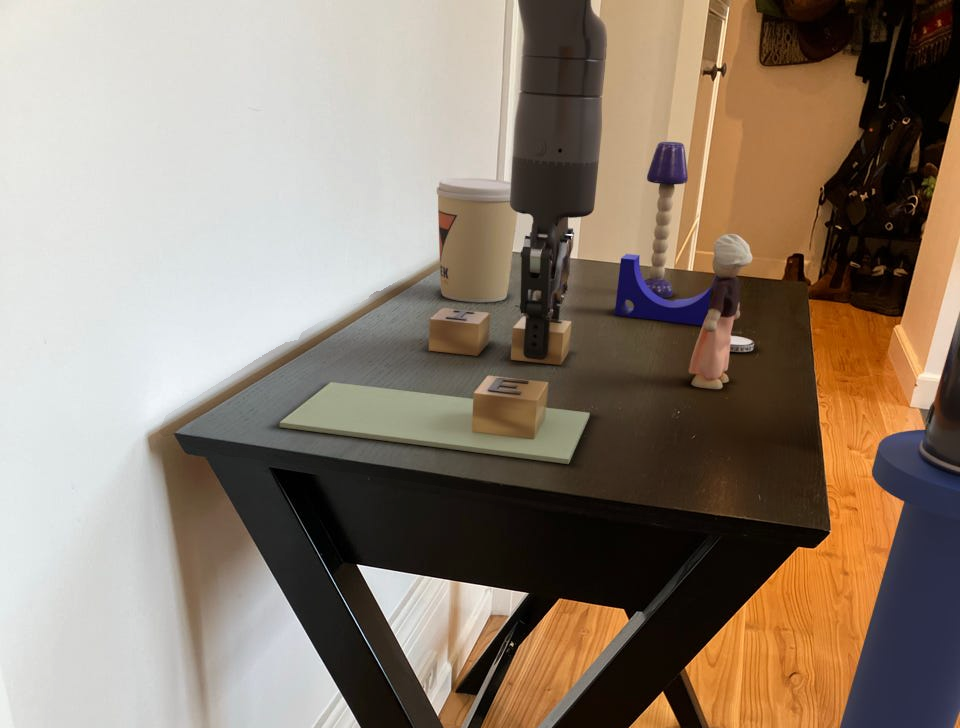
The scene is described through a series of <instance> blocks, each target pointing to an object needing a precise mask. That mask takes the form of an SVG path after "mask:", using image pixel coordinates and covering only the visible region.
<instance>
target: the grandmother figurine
mask: <svg viewBox="0 0 960 728" xmlns="http://www.w3.org/2000/svg"><path fill="white" fill-rule="evenodd" d="M712 251H713V258H712V264H711V265H712V270H713V272H714V274H715V276H716V275H717V276H718V278H717V280H716V282H715V283H714V282H713V283H714V285H713V284H712V285H713V286H712V285H711V286H712V289H711V293H710V301H709V309H708V314H707V316H706V318H705V321H704V323H703V326H702V325H701V329H700V332H699V335H698V337H697V340H696V343H695V345H694V347H693V348H694V349H693V352H692V355H691V359H690V363H689V366H688V374H691V375H695V376H694V377H693V379H692V381H691V383H690V384H691V385H692V386H693V387H696V388H701V389H709V390H721V389H722V388H723V384H725V383H729V381H730V379H729V376H728V375H727V374H726V373H725V372H727V371H728V369H729V362H730V352H731V351H730V343H731V336H732V330H733V325H734V321H736V320H738V319H739V318H740V317H741V311H740V301H741V298H740V294H741V293H740V292H741V284H740V280H739V278H737V277H738V275H739V274H740V273H741V272H742V270H743V268H744V267H747V266H748V265H750V264H751V263H752V261H753V254H752V253H751V246H750V245H749V243H748V242H746V241H745V240H744V238H742V237H741V236H739V235H737V234H735V233H728V234H723V235H721V236H720V237H719V238H718V239H716V240H715V242H714V244H713V247H712Z"/></svg>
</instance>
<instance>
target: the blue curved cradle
mask: <svg viewBox="0 0 960 728" xmlns="http://www.w3.org/2000/svg"><path fill="white" fill-rule="evenodd" d="M640 256H641V255H640V254H631V253H625V254H624V255H623V256H622V257H620V263H619V264H620V265H619V271H618V272H619V273H618V280H617V289H616V297H615V308H614V315H615V316H621V317H622V316H623V317H630V318H638V319H645V320H647V319H648V320H653V321H654V320H655V321H663V322H670V323H678V324H687V325H695V326H701V327H702V326H703V323H704V321H705V318H706V316H707V314H708V309H709V301H710V293H711V289H712V286H713V285H714V283H715V282H716V280H717V278H718V276H717V275H716V274H715V278H714V280H713V283H712V285H711V286H710V287H709V288H707V289H706V290H704V291H703V292H702V293H700V294H698V295H696V296H693V297H690V298H689V297H688V298H684V299H683V298H682V299H678V298H676V299H675V300H674V301H671V300H668V299H666V298H660V297H659V296H657V295H656V294H654V293H653V292H652V291H651V290H650V289H649V287H648V286H647V285H646V283H645V282H644V280H645V279H644V278H643V275H642V271H641V266H640V265H641V264H640ZM626 301H630V302H631V303H632V306H633V308H632V307H629V306H628V305H627V302H626Z"/></svg>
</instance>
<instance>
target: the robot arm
mask: <svg viewBox="0 0 960 728" xmlns="http://www.w3.org/2000/svg"><path fill="white" fill-rule="evenodd" d="M517 7H518V12H519V17H520V22H521V26H522V27H521V28H522V29H521V30H522V45H521V57H520V59H521V60H520V62H521V63H520V77H519V91H520V92H519V93H518V101H517V106H516V111H515V116H514V125H513V138H512V139H513V142H512V156H511V157H512V158H511V174H510V182H511V191H510V206H511V208H512V209H513V210H514V211H516V212H517V213H518V214H523V215H529V216H531V217H532V224H531V230H530V232H529V234H525V235H524V240H523V247H522V249H521V250H520V259H521V261H520V262H521V263H520V265H521V266H520V267H521V268H520V303H519V310H520V311H519V312H520V314H523V316H525V317H526V323H525V337H524V351H523V354H524V356H525V357H526V358H530V359H539V360H543V359H545V358H546V357H547V355H548V346H549V334H550V323H551V319H554V320H560V316H561V315H560V314H561V305H563V301H564V300H565V295H566V294H567V291H568V288H569V285H568V281H569V280H568V279H569V277H570V268H571V267H570V266H571V255H572V251H573V249H574V238H575V232H574V227H569V219H572V218H573V219H574V218H575V219H576V218H584V217H587V216H590V215H591V214H592V213H593V212H594V209H595V203H596V202H595V201H596V195H597V182H598V173H599V163H600V152H601V143H602V133H603V97H602V96H603V91H604V83H605V81H604V80H605V73H606V63H607V62H606V59H607V48H608V47H607V46H608V43H607V42H608V33H607V27H606V24H605V22H604V21H603V20H602V19H601V18H600V17H599V16H598V15H597V14H596V13H595V12H594V9H593V6H592V0H517ZM534 293H535V299H534V297H533V296H534ZM926 423H927V424H926ZM925 424H926V425H925V428H924V430H925V433H924V437H923V440H922V441H921V443H920V447H919V450H918V453H919V455H920V457H921V458H922V459H923V460H924V461H925V462H927V463H928V464H930V465H932V466H934V467H936V468H938V469H940V470H943V471H945V472H947V473H950V474H954V475H957V476H960V311H959V312H958V316H957V320H956V323H955V326H954V330H953V334H952V337H951V339H950V344H949V346H948V350H947V355H946V357H945V362H944V364H943V367H942V372H941V375H940V378H939V381H938V386H937V389H936V392H935V396H934V399H933V401H932V403H931V404H930V406H929V408H928V413H927V416H926V420H925Z"/></svg>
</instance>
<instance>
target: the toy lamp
mask: <svg viewBox="0 0 960 728" xmlns="http://www.w3.org/2000/svg"><path fill="white" fill-rule="evenodd" d="M687 166H688V165H687V157H686V149H685V145H684V143H682V142H677V141H660V142H659V143H657V145H656V148H655V151H654V154H653V156H652V160H651V162H650V165H649V168H648V172H647V175H646V180H647V182H649V183H652V184H659V186H658V196H659V197H658V199H657V203H656V207H657V212H656V215H655V223H656V224H655V227H654V231H653V235H654V240H653V242H652V251H653V252H652V255H651V259H650V260H651V267H650V269H649V277H648V278H646V279H644V282H645V283H646V285H647V286H648V287H649V289H650V290H651V291H652V292H653V293H654V294H656V295H657V296H659V297H660V298H662V299H669V298H671V297H673V296H674V292H673V287H672V284H671V283H670V281H668V280H667V279H665V278H664V277H665V274H666V268H665V264H666V262H667V251H668V248H669V241H668V238H669V236H670V233H671V229H670V228H671V227H670V224H671V221H672V212H671V211H672V209H673V205H674V199H673V196H674V194H675V188H676V187H675V185H684V184H686V183H687V182H688V180H689V179H688V177H689V176H688V175H689V174H688V167H687Z"/></svg>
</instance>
